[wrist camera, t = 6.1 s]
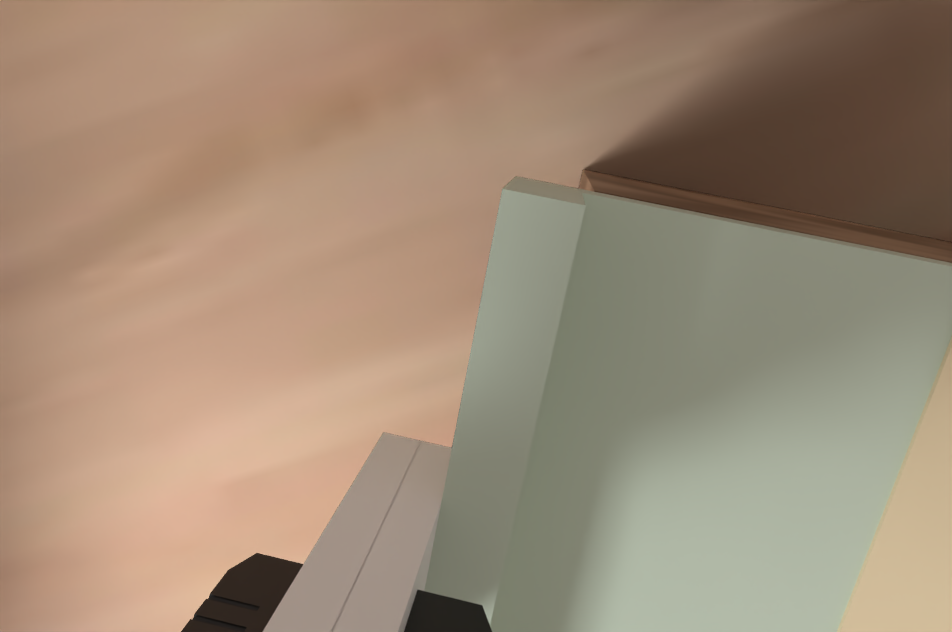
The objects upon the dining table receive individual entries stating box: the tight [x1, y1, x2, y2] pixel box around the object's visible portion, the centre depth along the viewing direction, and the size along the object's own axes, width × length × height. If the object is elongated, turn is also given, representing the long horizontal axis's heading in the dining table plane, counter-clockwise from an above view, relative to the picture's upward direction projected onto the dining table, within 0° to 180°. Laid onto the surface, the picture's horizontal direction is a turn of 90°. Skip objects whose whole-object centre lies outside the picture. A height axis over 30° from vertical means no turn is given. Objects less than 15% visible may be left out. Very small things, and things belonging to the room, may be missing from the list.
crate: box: [579, 170, 952, 263], centre depth 18 cm, size 18×13×8 cm
